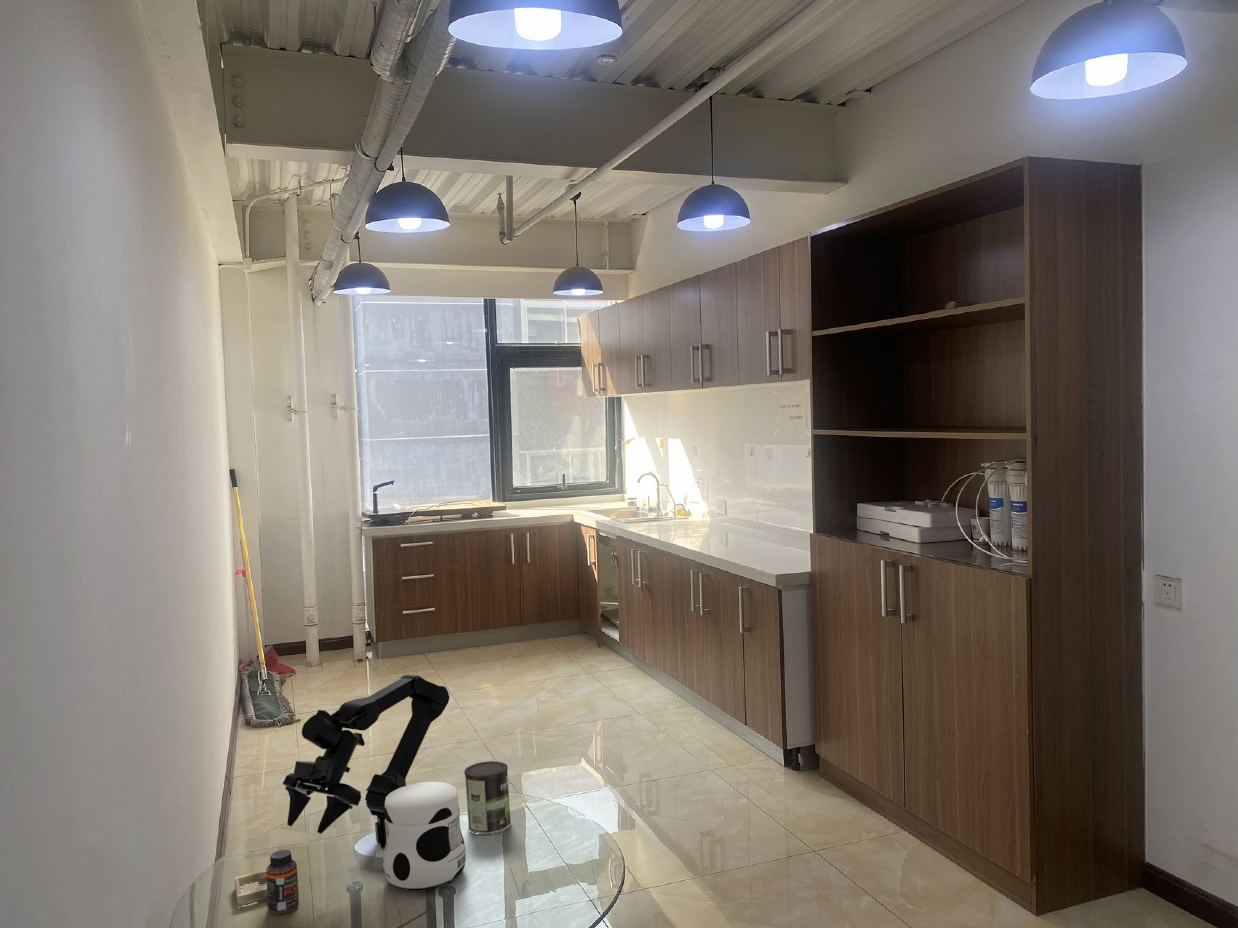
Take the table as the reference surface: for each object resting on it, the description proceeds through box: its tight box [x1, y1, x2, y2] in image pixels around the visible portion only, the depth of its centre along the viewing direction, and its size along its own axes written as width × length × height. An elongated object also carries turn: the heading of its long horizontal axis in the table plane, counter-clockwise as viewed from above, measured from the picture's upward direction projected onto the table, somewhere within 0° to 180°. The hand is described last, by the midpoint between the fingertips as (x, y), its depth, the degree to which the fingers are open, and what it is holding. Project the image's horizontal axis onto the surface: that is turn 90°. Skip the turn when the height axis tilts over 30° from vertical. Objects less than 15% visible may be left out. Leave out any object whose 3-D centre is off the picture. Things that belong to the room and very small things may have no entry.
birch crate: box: [233, 869, 268, 908], centre depth 195 cm, size 10×10×2 cm
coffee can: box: [464, 760, 512, 836], centre depth 222 cm, size 10×10×14 cm
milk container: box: [382, 781, 467, 892], centre depth 197 cm, size 17×17×18 cm
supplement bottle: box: [265, 849, 300, 915], centre depth 188 cm, size 6×6×11 cm
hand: (303, 829), depth 195 cm, fingers open, 9 cm apart
